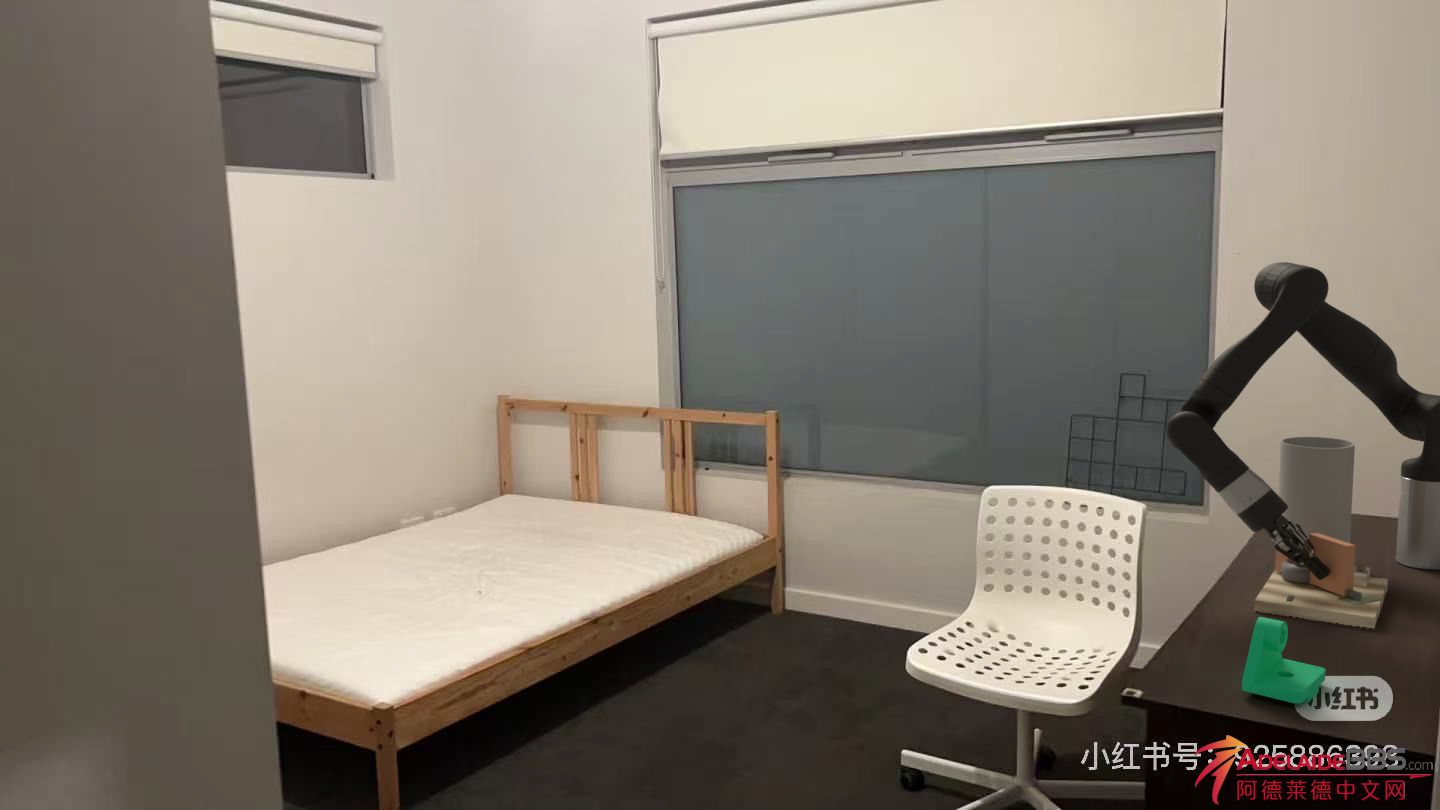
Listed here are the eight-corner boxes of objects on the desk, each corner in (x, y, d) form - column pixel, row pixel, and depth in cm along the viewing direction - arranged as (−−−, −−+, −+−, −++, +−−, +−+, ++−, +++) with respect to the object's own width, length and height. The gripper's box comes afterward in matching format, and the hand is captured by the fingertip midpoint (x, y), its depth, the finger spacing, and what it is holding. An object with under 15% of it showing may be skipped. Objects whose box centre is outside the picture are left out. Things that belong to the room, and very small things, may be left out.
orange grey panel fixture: (1264, 571, 204) (1266, 524, 202) (1293, 567, 205) (1295, 521, 204) (1343, 602, 185) (1346, 551, 184) (1375, 598, 187) (1377, 547, 186)
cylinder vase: (1352, 580, 204) (1359, 449, 200) (1278, 574, 209) (1283, 446, 205) (1344, 562, 215) (1350, 437, 212) (1273, 557, 220) (1278, 435, 217)
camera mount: (1299, 712, 150) (1302, 640, 148) (1241, 697, 155) (1244, 628, 154) (1326, 685, 158) (1329, 617, 157) (1270, 672, 164) (1273, 606, 162)
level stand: (1277, 575, 209) (1278, 546, 208) (1388, 589, 198) (1390, 559, 197) (1254, 611, 189) (1255, 580, 189) (1375, 629, 179) (1377, 596, 178)
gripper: (1262, 494, 189) (1338, 574, 184) (1276, 480, 199) (1348, 554, 194) (1228, 520, 193) (1301, 598, 187) (1243, 505, 203) (1313, 578, 198)
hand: (1325, 576), depth 191 cm, fingers closed
